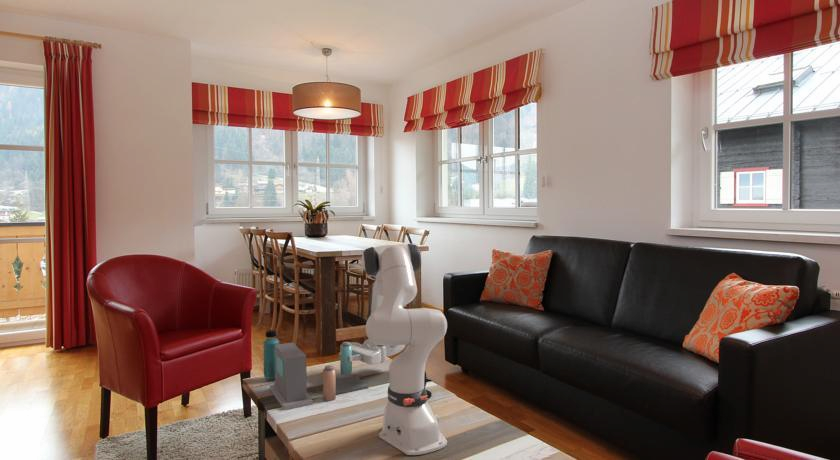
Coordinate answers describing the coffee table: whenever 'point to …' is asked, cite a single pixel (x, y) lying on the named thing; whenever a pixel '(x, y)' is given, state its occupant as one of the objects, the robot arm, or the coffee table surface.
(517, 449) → the coffee table surface
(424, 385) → the webcam
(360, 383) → the pad
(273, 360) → the beverage bottle
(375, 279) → the robot arm
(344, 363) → the cylinder
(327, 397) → the terracotta cartridge
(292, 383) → the block
